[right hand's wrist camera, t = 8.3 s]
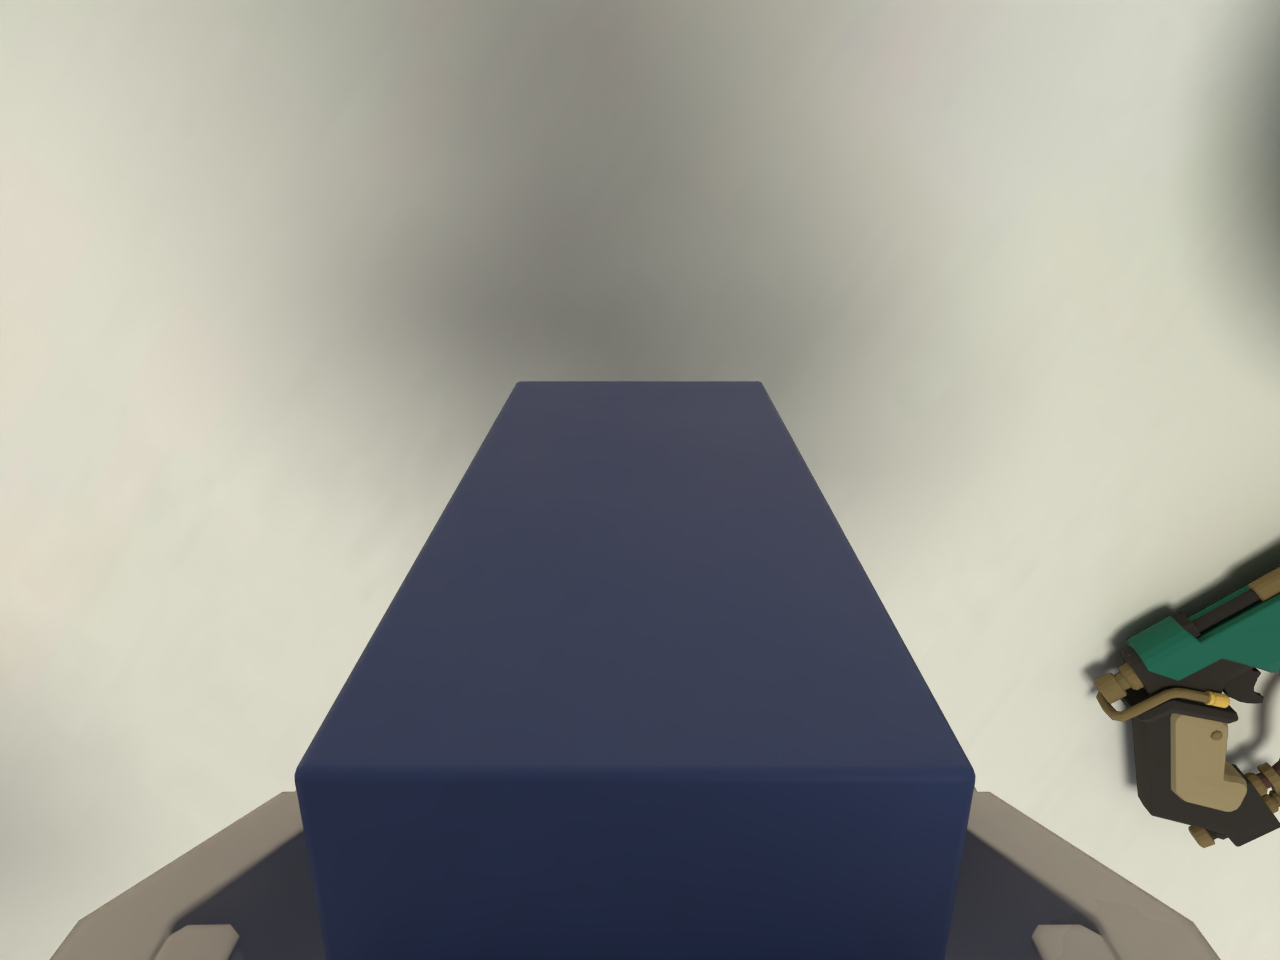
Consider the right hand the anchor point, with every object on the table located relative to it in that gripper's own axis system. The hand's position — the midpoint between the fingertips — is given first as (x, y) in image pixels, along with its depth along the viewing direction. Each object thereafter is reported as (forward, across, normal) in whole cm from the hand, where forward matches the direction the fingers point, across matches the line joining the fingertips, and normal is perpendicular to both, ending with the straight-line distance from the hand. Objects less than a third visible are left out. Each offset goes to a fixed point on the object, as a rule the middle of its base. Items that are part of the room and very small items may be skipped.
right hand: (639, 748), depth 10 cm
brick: (+5, 0, 0) cm, 5 cm away
